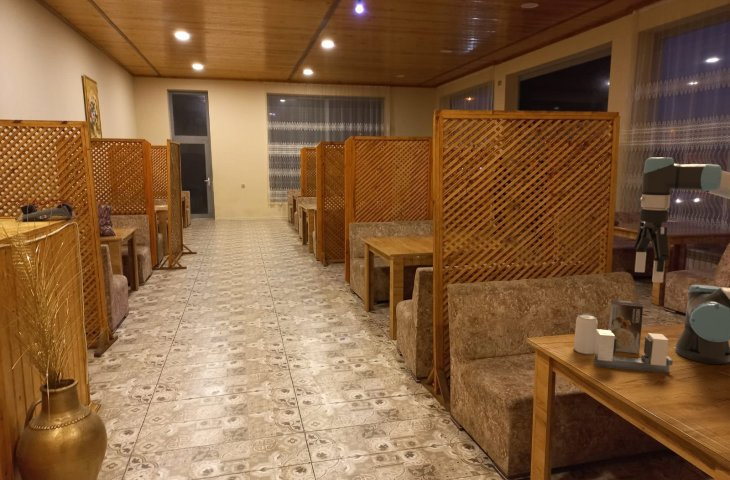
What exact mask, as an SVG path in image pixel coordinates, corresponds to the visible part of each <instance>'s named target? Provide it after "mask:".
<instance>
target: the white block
mask: <svg viewBox="0 0 730 480" xmlns="http://www.w3.org/2000/svg"><path fill="white" fill-rule="evenodd" d="M643 346H644V348H643V354H646V356H647V357H648V358H649V363H650V364H651V365H662V366H666V359H667V356H668V350H669V339H668V338H667V337H666V336H665V335H664V334H663V333H650V332H648V333H647V336H644V345H643Z"/></svg>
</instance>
